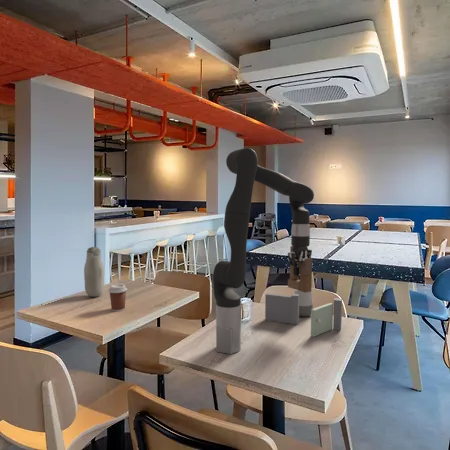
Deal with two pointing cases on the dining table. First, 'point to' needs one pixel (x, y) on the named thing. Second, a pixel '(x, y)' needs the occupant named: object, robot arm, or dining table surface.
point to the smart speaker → (305, 303)
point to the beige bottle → (94, 272)
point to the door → (321, 319)
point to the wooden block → (301, 276)
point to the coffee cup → (117, 297)
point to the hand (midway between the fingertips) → (299, 274)
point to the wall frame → (294, 309)
